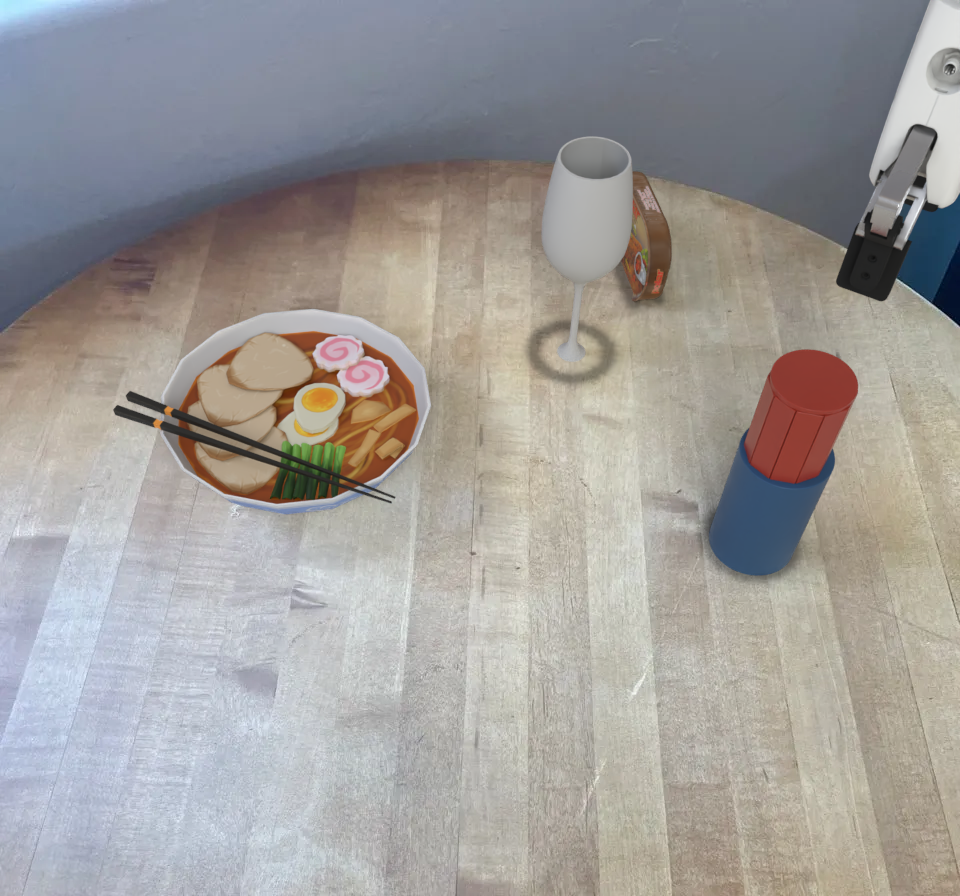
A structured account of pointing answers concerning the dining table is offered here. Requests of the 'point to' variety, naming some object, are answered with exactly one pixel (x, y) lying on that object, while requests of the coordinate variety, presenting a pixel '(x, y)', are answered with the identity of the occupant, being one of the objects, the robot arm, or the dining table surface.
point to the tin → (647, 243)
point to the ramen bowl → (292, 410)
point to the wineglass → (587, 218)
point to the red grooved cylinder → (800, 415)
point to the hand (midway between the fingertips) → (887, 245)
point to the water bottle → (762, 516)
